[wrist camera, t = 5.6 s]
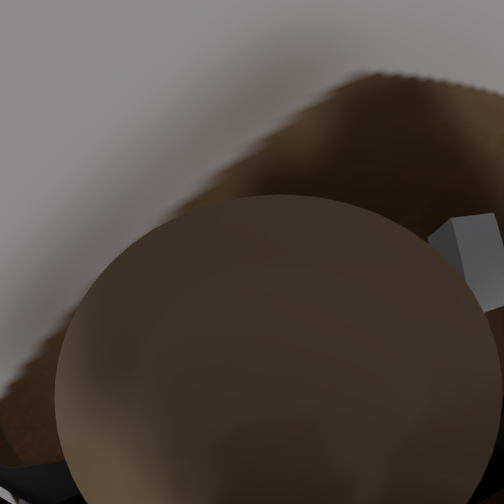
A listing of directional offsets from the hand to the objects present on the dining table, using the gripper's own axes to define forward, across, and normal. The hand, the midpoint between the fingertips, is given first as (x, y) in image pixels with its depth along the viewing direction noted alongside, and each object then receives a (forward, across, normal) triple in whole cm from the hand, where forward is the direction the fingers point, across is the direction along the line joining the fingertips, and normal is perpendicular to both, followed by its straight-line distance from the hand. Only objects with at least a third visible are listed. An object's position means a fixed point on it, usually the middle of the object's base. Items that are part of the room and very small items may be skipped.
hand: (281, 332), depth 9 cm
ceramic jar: (+4, 0, +6) cm, 7 cm away
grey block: (+8, -13, +6) cm, 16 cm away
